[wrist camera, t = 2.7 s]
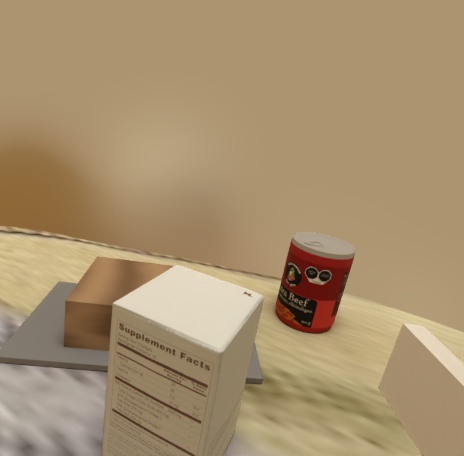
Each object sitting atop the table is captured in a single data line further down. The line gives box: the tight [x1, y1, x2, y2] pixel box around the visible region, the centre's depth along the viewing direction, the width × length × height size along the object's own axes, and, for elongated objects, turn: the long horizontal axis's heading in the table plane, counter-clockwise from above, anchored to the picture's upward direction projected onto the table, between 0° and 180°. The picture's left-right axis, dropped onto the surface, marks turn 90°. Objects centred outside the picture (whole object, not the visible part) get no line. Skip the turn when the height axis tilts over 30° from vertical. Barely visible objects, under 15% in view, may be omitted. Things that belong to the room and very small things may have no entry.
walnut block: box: [64, 257, 174, 351], centre depth 37 cm, size 10×10×5 cm
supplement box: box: [102, 265, 264, 456], centre depth 23 cm, size 7×7×13 cm
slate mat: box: [0, 282, 263, 384], centre depth 38 cm, size 24×14×1 cm, turn 95°
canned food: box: [276, 232, 355, 333], centre depth 45 cm, size 8×8×11 cm
